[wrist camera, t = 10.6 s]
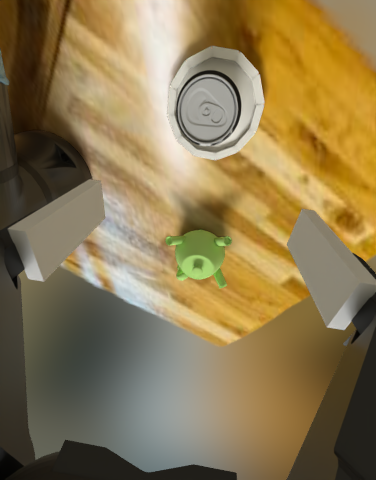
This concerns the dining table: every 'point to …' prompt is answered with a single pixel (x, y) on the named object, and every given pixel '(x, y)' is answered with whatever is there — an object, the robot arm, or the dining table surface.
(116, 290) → the dining table surface
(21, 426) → the robot arm
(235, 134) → the saucer
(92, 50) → the dining table surface
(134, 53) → the dining table surface
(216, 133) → the beverage can
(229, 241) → the green rounded body
